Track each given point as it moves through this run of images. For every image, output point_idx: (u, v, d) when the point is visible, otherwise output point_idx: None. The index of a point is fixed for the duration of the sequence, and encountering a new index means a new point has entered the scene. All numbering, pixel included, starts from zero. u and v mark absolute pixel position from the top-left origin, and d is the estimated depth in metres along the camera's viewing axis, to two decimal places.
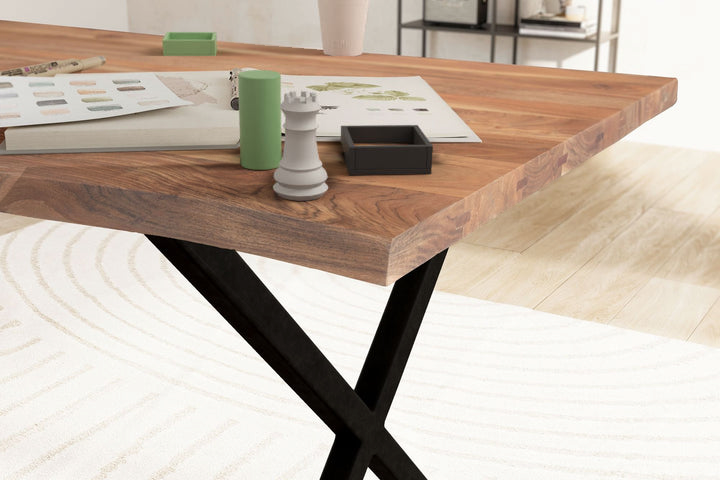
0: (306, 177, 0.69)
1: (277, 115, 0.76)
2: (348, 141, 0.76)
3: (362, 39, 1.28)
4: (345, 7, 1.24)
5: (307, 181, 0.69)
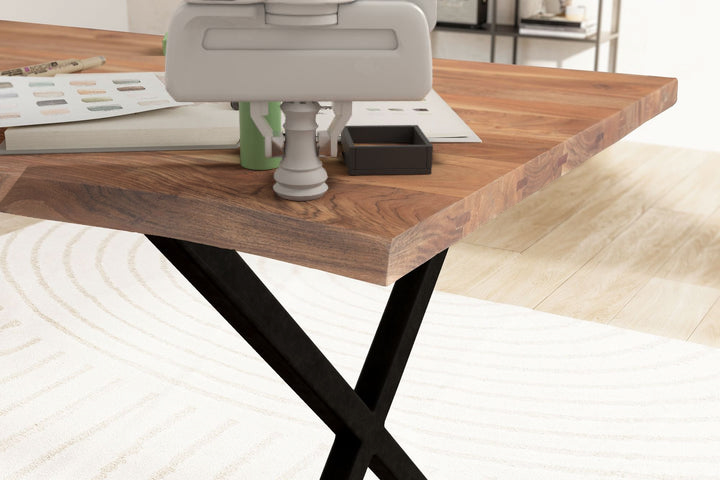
0: (306, 177, 0.69)
1: (277, 115, 0.76)
2: (348, 141, 0.76)
3: None
4: None
5: (307, 181, 0.69)
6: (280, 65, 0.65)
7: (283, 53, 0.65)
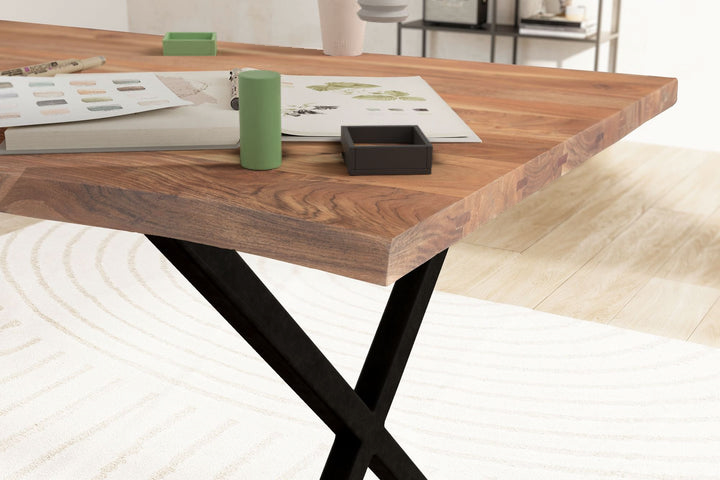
0: None
1: (277, 115, 0.76)
2: (348, 141, 0.76)
3: (362, 39, 1.28)
4: (345, 7, 1.24)
5: (392, 3, 0.71)
6: None
7: None
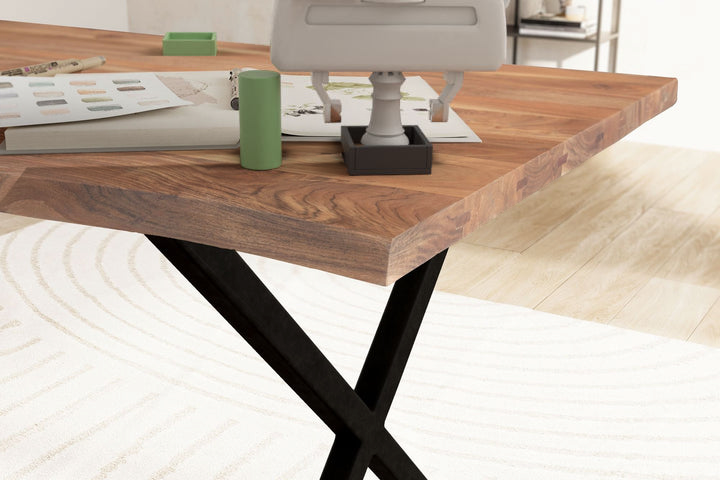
0: (392, 142, 0.77)
1: (277, 115, 0.76)
2: (348, 141, 0.76)
3: None
4: None
5: None
6: (373, 39, 0.73)
7: (376, 28, 0.73)
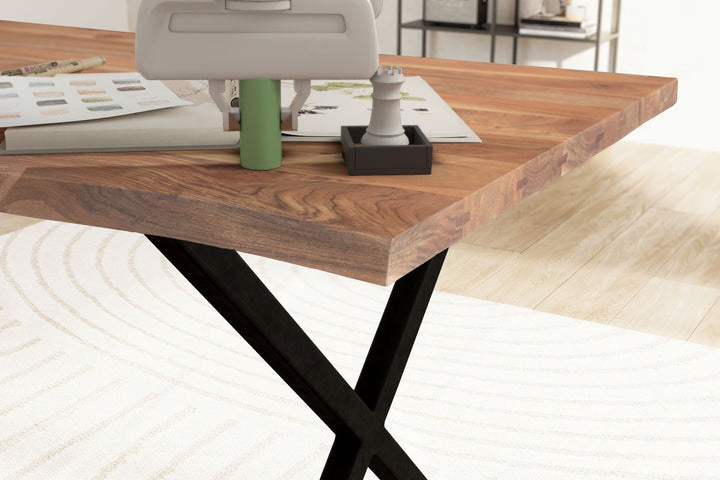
0: (392, 142, 0.77)
1: (277, 115, 0.76)
2: (348, 141, 0.76)
3: None
4: None
5: None
6: (239, 47, 0.72)
7: (242, 35, 0.72)
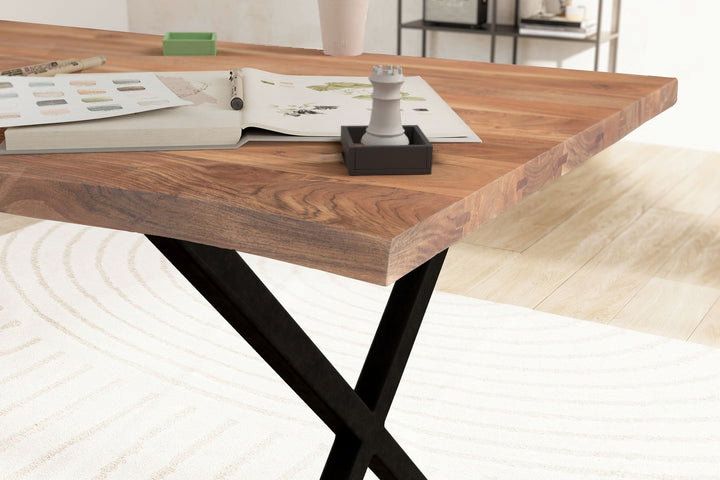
0: (392, 142, 0.77)
1: None
2: (348, 141, 0.76)
3: (362, 39, 1.28)
4: (345, 7, 1.24)
5: None
6: None
7: None
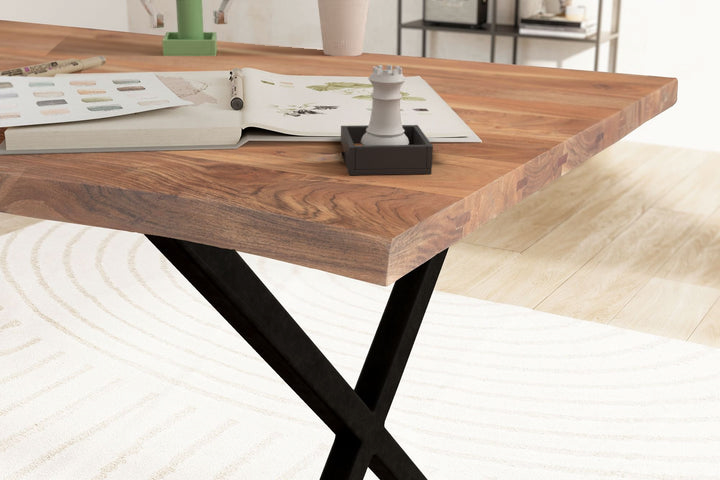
0: (392, 142, 0.77)
1: (202, 17, 1.25)
2: (348, 141, 0.76)
3: (362, 39, 1.28)
4: (345, 7, 1.24)
5: None
6: None
7: None
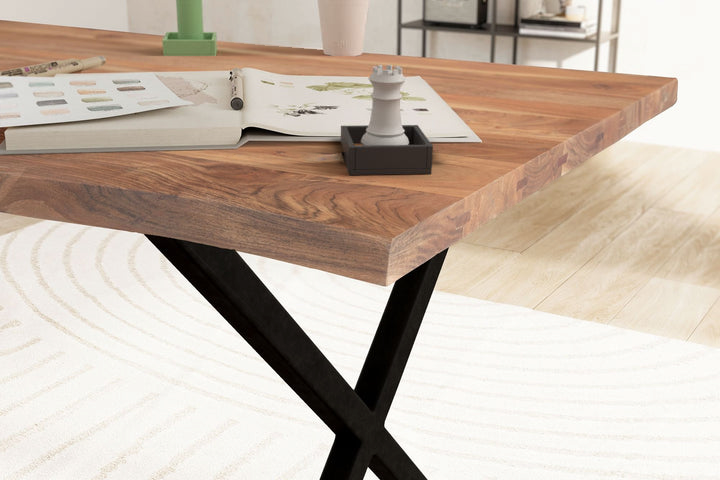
0: (392, 142, 0.77)
1: (202, 17, 1.25)
2: (348, 141, 0.76)
3: (362, 39, 1.28)
4: (345, 7, 1.24)
5: None
6: None
7: None
